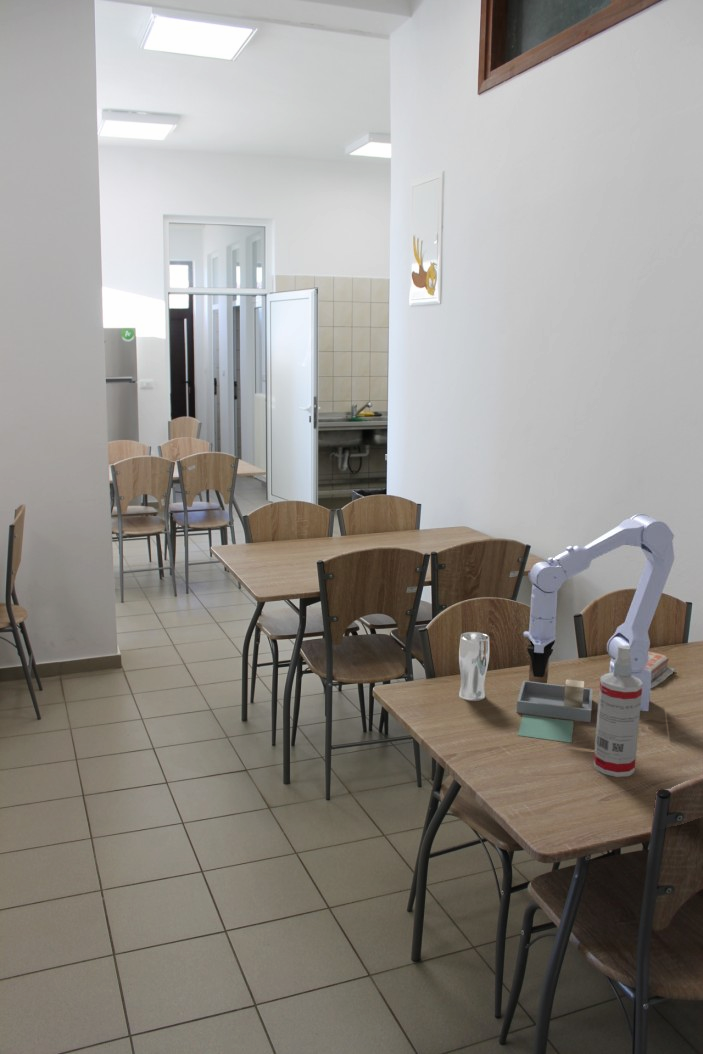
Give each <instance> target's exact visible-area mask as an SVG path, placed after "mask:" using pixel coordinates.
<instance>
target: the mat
mask: <svg viewBox="0 0 703 1054" xmlns="http://www.w3.org/2000/svg"><path fill="white" fill-rule="evenodd" d="M574 721H575V720H568V719H560V718H553V717H545V716H538V715H530V714H522V717H521V721H520V725H519V728H518V729H519V730H518V732H517V737H525V738H530V739H531V738H532V739H540V740H546V741H552V742H553V741H555V742H561V743H568V744H572V741H573V739H572V738H573V731H574Z"/></svg>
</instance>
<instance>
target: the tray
mask: <svg viewBox="0 0 703 1054" xmlns="http://www.w3.org/2000/svg"><path fill="white" fill-rule="evenodd" d="M593 690H594V689H593V688H587V687H584V691H583V704H582V708H575V707H567V706H564V696H565V685H562V684H555V683H548V682H547V683H538V682H530V681H529V680H528V681H527V680H522V683H521V686H520V690H519V694H518V698H517V700H516V713H517V714H522V715H529V716H537V717H545V718H552V719H560V720H567V721H576V722H583V723H584V722H586V723H591V719H592V705H593V704H592V703H593Z"/></svg>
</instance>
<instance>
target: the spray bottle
mask: <svg viewBox="0 0 703 1054" xmlns="http://www.w3.org/2000/svg"><path fill="white" fill-rule="evenodd" d="M599 679H600V680H599V681H600V682H599V691H598V693H599V694H598V704H597V713H596V715H597V716H596V726H595V727H596V728H595V740H594V752H593V754H594V755H593V765H594V768H595V770H597V771H598V772H600V773H601V774H602V775H606V776H612V777H617V778H619V777H629V776H631V775H632V774H633V773H635V772H636V771H635V768H636V760H637V758H636V757H637V748H638V747H637V746H638V739H639V738H638V737H639V725H640V714H641V710H640V706H641V695H642V685H643V684H642V682H641V680H640V679H639V678H636V677H634V676H632V675H631V660H630V646H628V645H623V646H619V647H618V653H617V657H616V659H615V661H614V668H613V673H609V672H607V673H605V674H603V675H601V676H600V678H599Z"/></svg>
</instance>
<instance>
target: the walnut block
mask: <svg viewBox="0 0 703 1054" xmlns="http://www.w3.org/2000/svg"><path fill="white" fill-rule="evenodd" d="M549 667H550V658H549V659H548V661H547V665H546V669H545V673H544V676H543V677H535V676H534V675H533V669H532V662H531V658H530V657H529V669H528V670H529V671H528V674H529V675H528V681H530V682H538V683H547V684H548V680H549Z"/></svg>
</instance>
